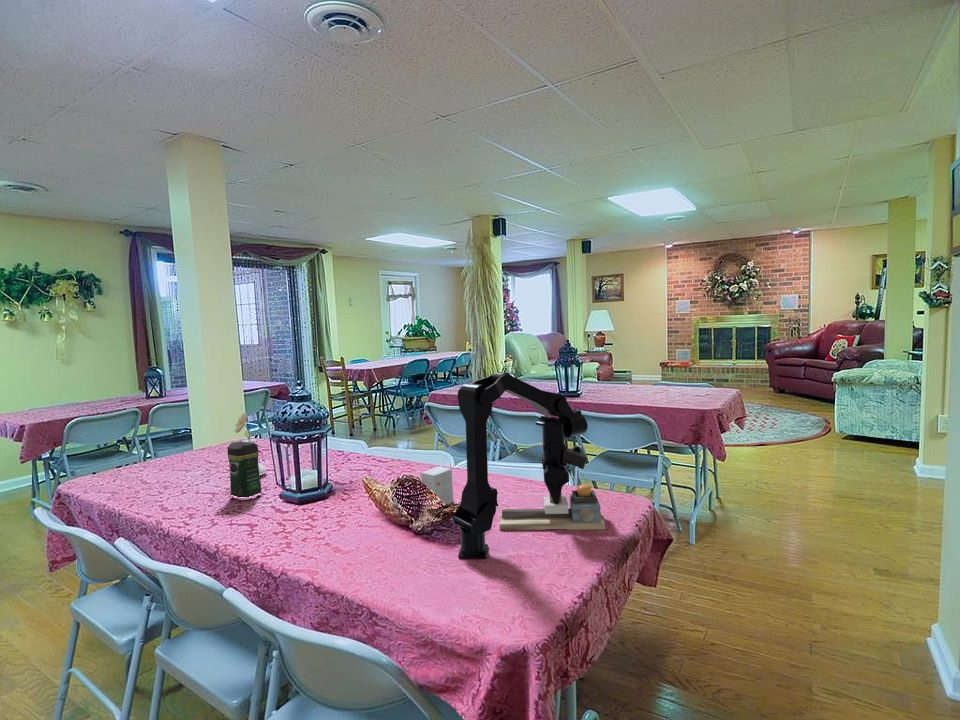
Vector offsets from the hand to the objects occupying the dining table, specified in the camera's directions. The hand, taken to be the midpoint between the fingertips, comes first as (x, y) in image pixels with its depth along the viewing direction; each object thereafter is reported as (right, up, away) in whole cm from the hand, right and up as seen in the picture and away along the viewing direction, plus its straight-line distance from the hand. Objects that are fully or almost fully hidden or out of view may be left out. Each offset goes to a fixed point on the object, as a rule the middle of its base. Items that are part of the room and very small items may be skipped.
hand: (555, 498), depth 133 cm
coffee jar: (-98, -9, +33) cm, 103 cm away
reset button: (+7, +1, -1) cm, 8 cm away
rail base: (-1, -7, +1) cm, 7 cm away
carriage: (0, -3, 0) cm, 3 cm away
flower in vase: (-107, -8, +55) cm, 120 cm away
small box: (-33, -7, +18) cm, 38 cm away
